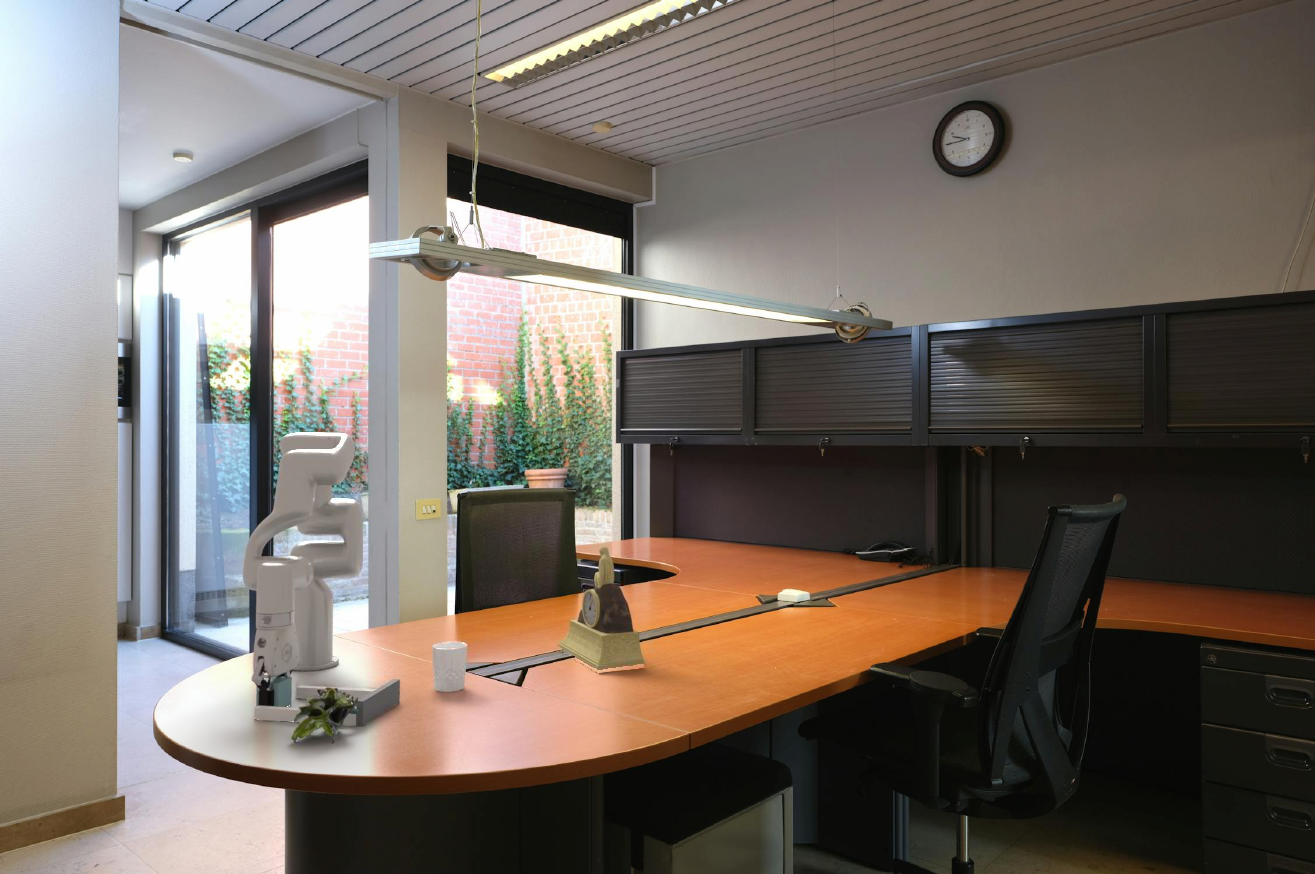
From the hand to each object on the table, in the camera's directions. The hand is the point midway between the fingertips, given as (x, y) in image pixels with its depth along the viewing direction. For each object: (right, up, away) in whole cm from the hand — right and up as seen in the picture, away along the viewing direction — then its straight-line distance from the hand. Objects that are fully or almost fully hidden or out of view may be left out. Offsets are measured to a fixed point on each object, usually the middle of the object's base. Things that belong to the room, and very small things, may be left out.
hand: (274, 704), depth 188 cm
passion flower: (+19, -1, -19) cm, 26 cm away
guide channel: (+13, -1, -2) cm, 13 cm away
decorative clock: (+67, -2, +46) cm, 81 cm away
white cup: (+34, -2, +16) cm, 37 cm away
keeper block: (0, -1, 0) cm, 1 cm away
